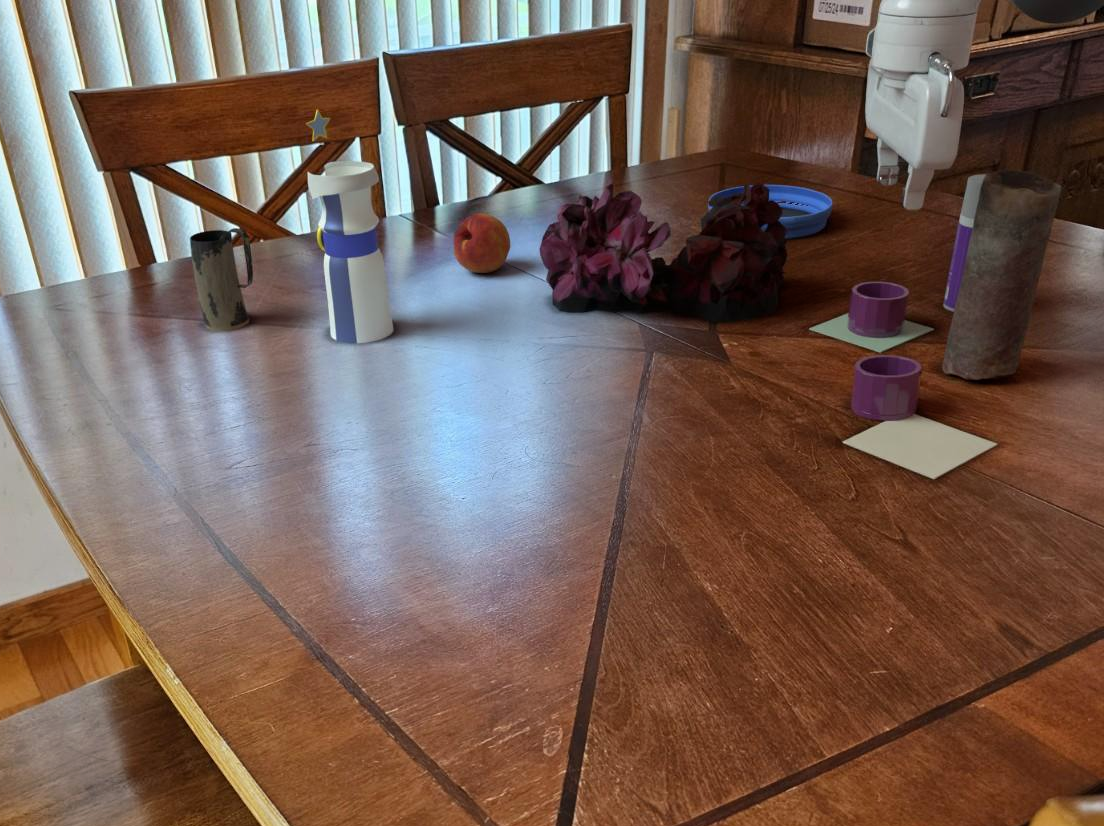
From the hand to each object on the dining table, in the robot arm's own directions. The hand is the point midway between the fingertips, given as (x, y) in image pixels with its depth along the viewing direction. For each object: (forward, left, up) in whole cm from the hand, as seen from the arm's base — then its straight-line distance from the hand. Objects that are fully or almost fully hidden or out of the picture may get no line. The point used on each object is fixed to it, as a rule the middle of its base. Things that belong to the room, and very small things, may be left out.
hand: (898, 195), depth 112 cm
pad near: (-17, +15, -17) cm, 28 cm away
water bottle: (+46, +38, -17) cm, 63 cm away
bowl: (+41, -31, -17) cm, 54 cm away
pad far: (+4, -6, -17) cm, 19 cm away
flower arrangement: (+28, +4, -17) cm, 34 cm away
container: (+1, -20, -17) cm, 26 cm away
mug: (+60, +48, -17) cm, 79 cm away
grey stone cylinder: (-11, -4, -17) cm, 21 cm away
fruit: (+54, +13, -17) cm, 59 cm away
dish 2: (-10, +11, -17) cm, 23 cm away
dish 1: (+4, -6, -17) cm, 18 cm away
